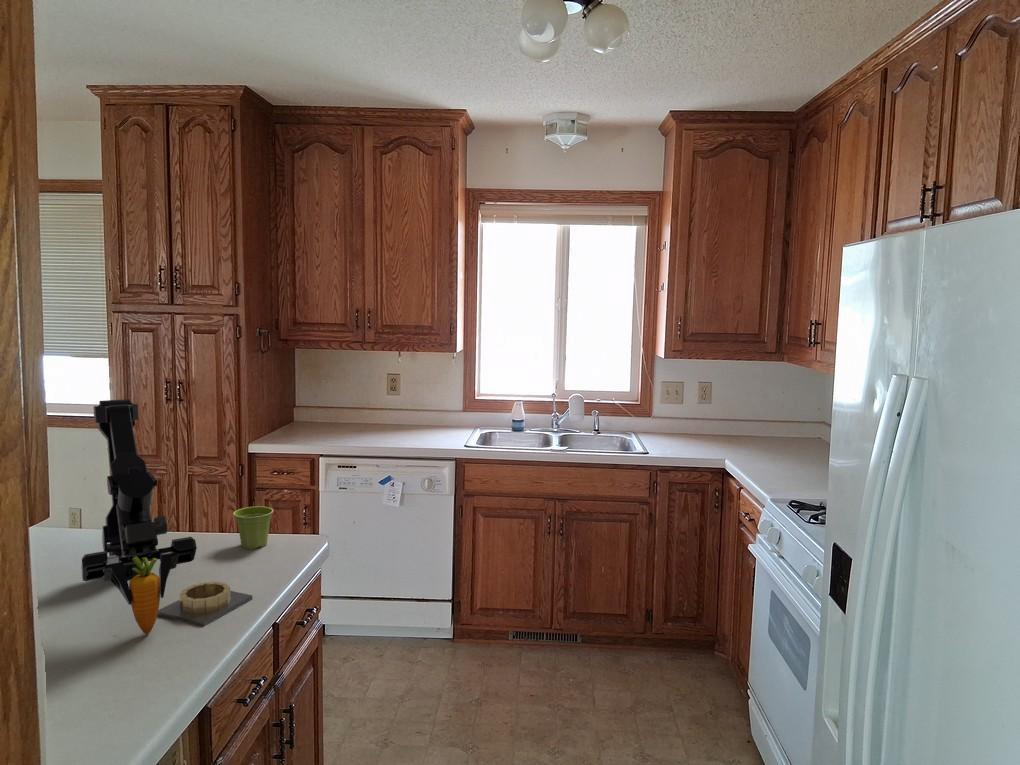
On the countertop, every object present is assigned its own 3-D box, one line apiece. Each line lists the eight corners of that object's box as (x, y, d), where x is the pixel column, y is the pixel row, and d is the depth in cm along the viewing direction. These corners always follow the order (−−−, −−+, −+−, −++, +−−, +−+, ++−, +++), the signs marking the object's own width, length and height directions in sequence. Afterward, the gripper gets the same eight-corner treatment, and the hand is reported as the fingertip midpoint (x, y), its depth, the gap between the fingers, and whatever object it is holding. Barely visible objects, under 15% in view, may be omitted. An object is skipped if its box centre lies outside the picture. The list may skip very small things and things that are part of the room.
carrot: (168, 630, 129) (164, 553, 127) (146, 642, 124) (142, 562, 123) (147, 626, 131) (143, 549, 129) (125, 638, 126) (121, 558, 124)
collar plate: (156, 614, 135) (155, 598, 135) (207, 589, 147) (206, 574, 147) (203, 626, 131) (203, 609, 131) (252, 599, 143) (251, 583, 143)
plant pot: (241, 538, 179) (240, 506, 178) (278, 538, 180) (277, 505, 179) (229, 551, 170) (228, 517, 169) (268, 551, 170) (267, 517, 169)
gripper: (78, 511, 123) (86, 593, 115) (192, 495, 133) (207, 569, 126) (78, 541, 130) (86, 620, 122) (186, 524, 141) (199, 595, 133)
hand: (146, 600), depth 126 cm, fingers closed on carrot, 5 cm apart
